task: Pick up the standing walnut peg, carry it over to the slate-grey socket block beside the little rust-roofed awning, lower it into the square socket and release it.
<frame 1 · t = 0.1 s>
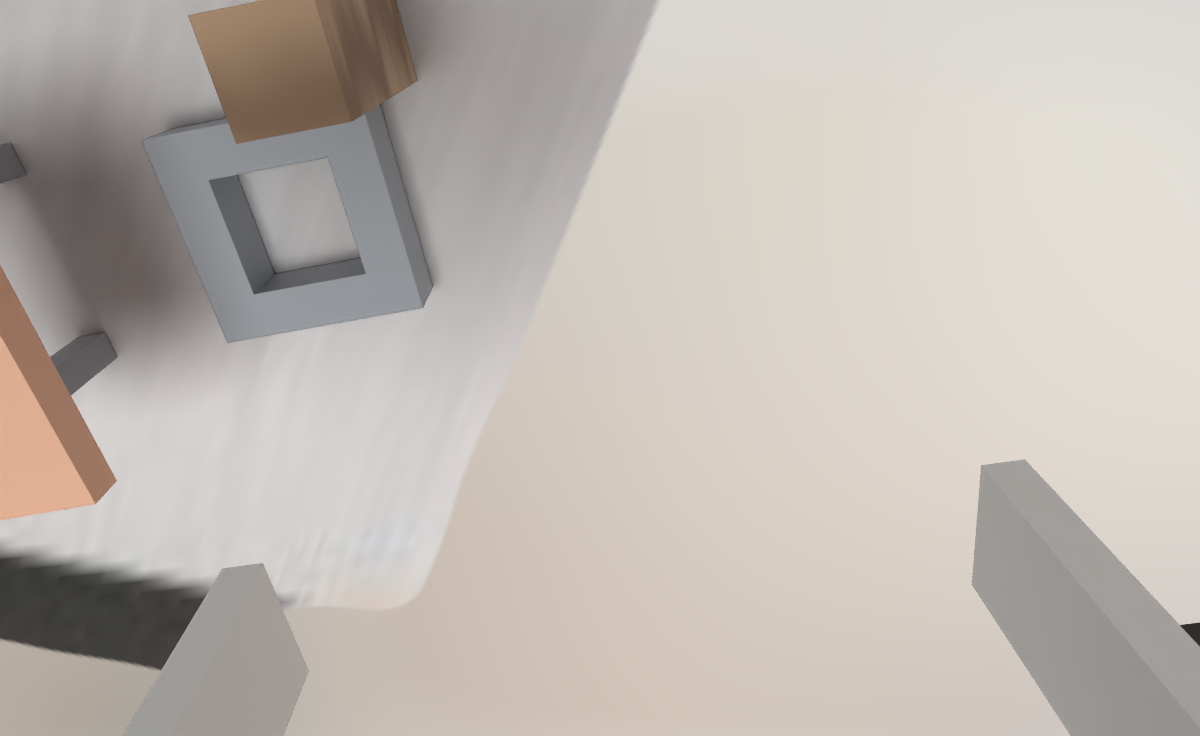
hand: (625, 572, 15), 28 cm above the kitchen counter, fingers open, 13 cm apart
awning: (118, 247, 40), on the kitchen counter
socket block: (308, 211, 40), on the kitchen counter
peg: (362, 43, 36), on the kitchen counter
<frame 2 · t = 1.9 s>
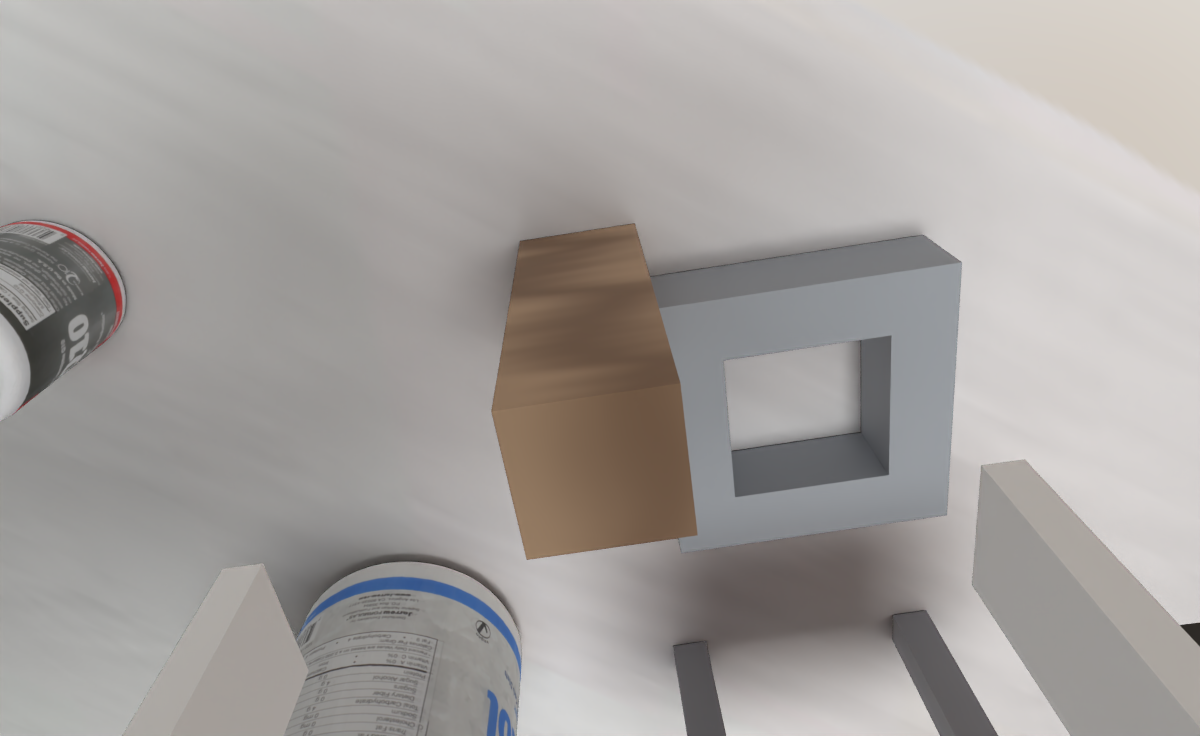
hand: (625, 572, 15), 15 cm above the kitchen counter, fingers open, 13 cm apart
supplement tub: (415, 631, 35), on the kitchen counter
pill bottle: (61, 282, 28), on the kitchen counter
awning: (796, 581, 35), on the kitchen counter
socket block: (787, 380, 30), on the kitchen counter
peg: (586, 286, 28), on the kitchen counter
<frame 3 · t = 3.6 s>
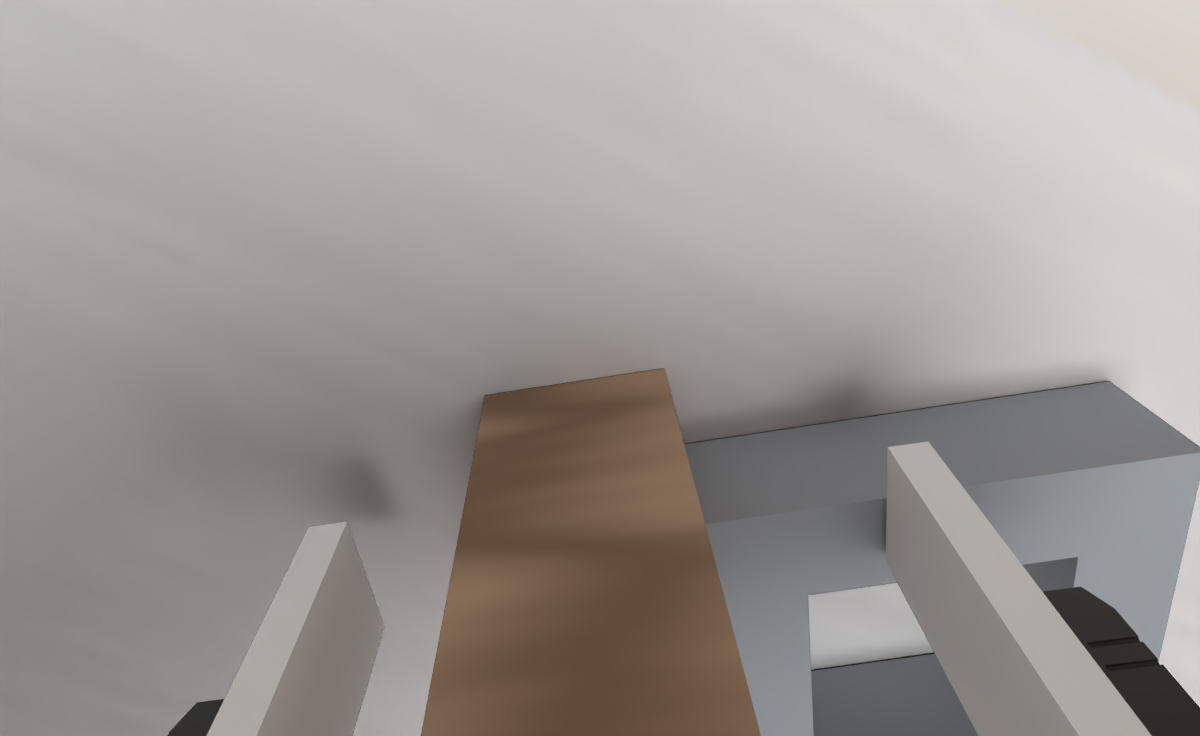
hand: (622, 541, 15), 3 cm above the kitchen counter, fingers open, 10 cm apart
socket block: (887, 581, 20), on the kitchen counter
peg: (588, 457, 18), on the kitchen counter
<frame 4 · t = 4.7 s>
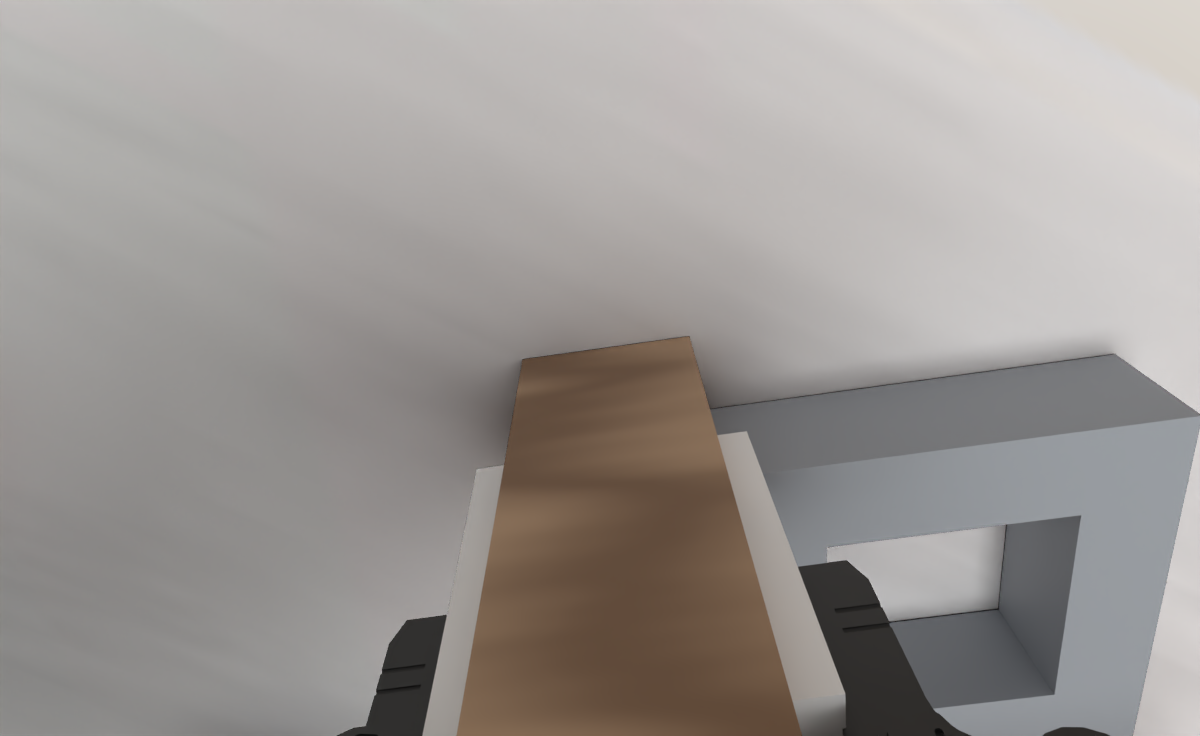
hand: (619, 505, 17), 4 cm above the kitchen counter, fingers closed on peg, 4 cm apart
socket block: (901, 544, 22), on the kitchen counter
peg: (616, 420, 20), on the kitchen counter, touching gripper
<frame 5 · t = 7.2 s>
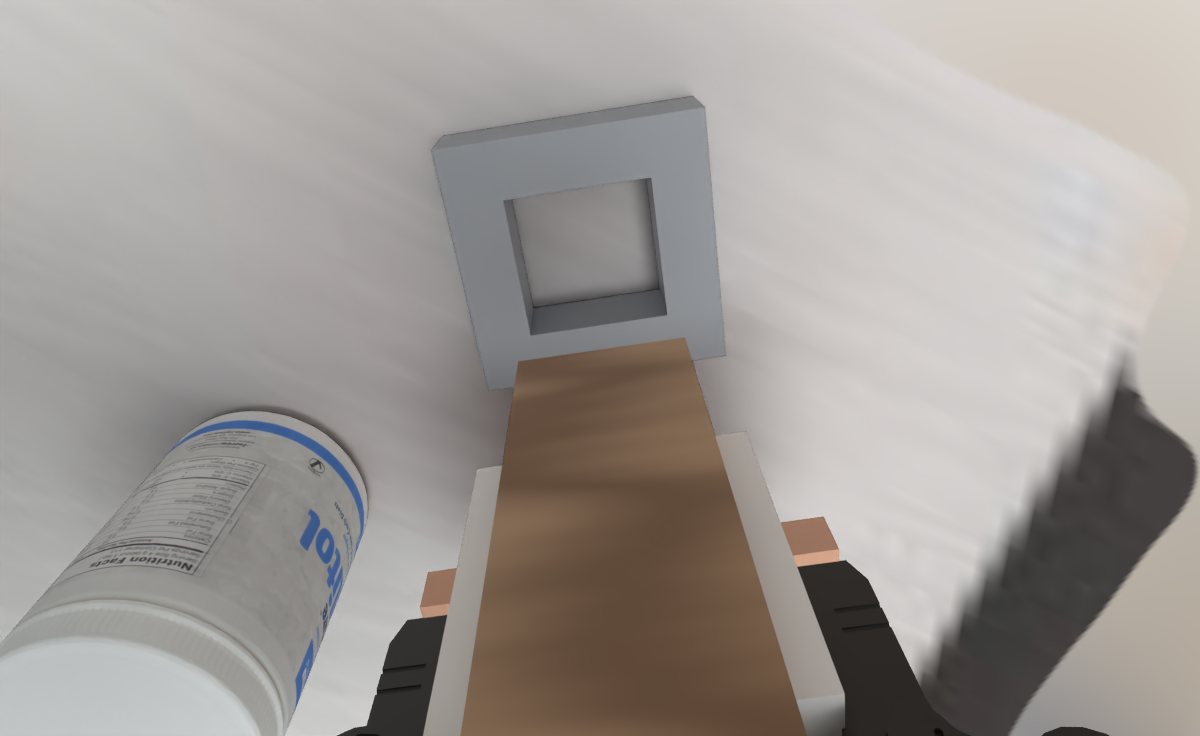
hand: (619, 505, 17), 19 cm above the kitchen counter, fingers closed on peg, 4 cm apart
supplement tub: (273, 485, 39), on the kitchen counter
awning: (618, 437, 38), on the kitchen counter
socket block: (586, 237, 33), on the kitchen counter
peg: (612, 421, 20), point 15 cm above the kitchen counter, touching gripper
when the fingers open (4 cm above the kitchen counter, at t = 9.5 s): peg stays where it is, resting in socket block.
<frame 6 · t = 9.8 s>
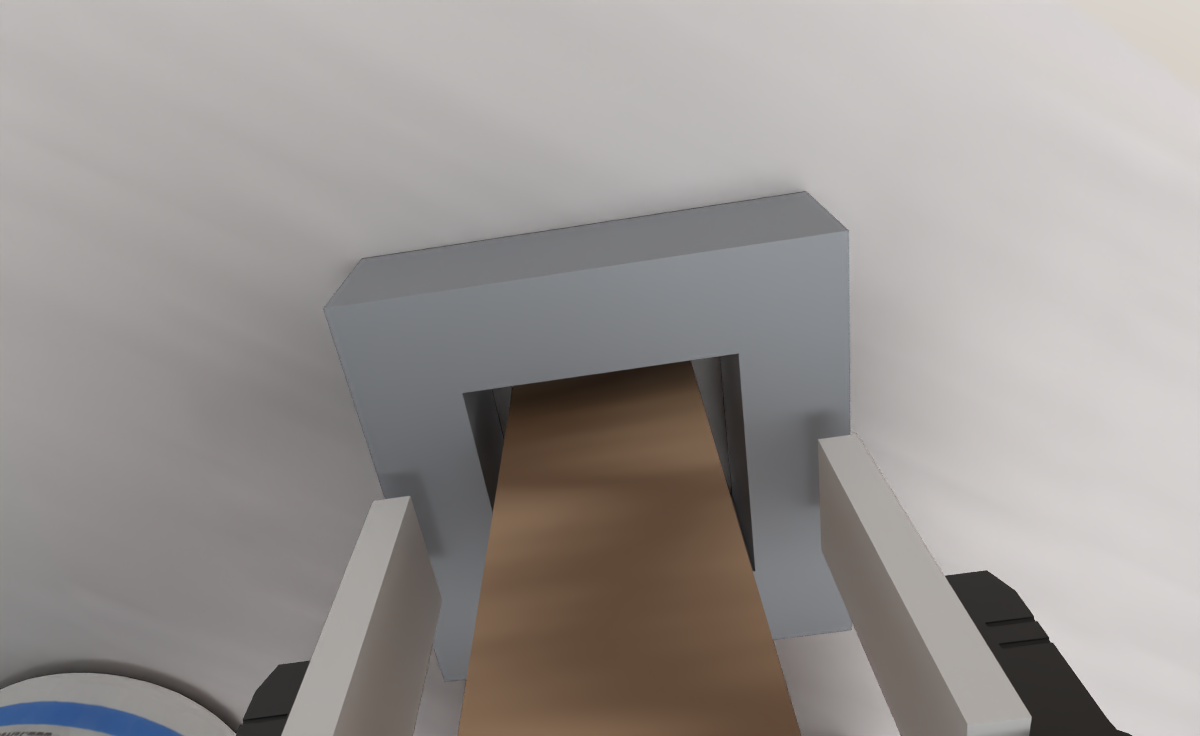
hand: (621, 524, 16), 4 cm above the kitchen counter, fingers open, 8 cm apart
socket block: (612, 418, 20), on the kitchen counter
peg: (611, 418, 20), resting in socket block
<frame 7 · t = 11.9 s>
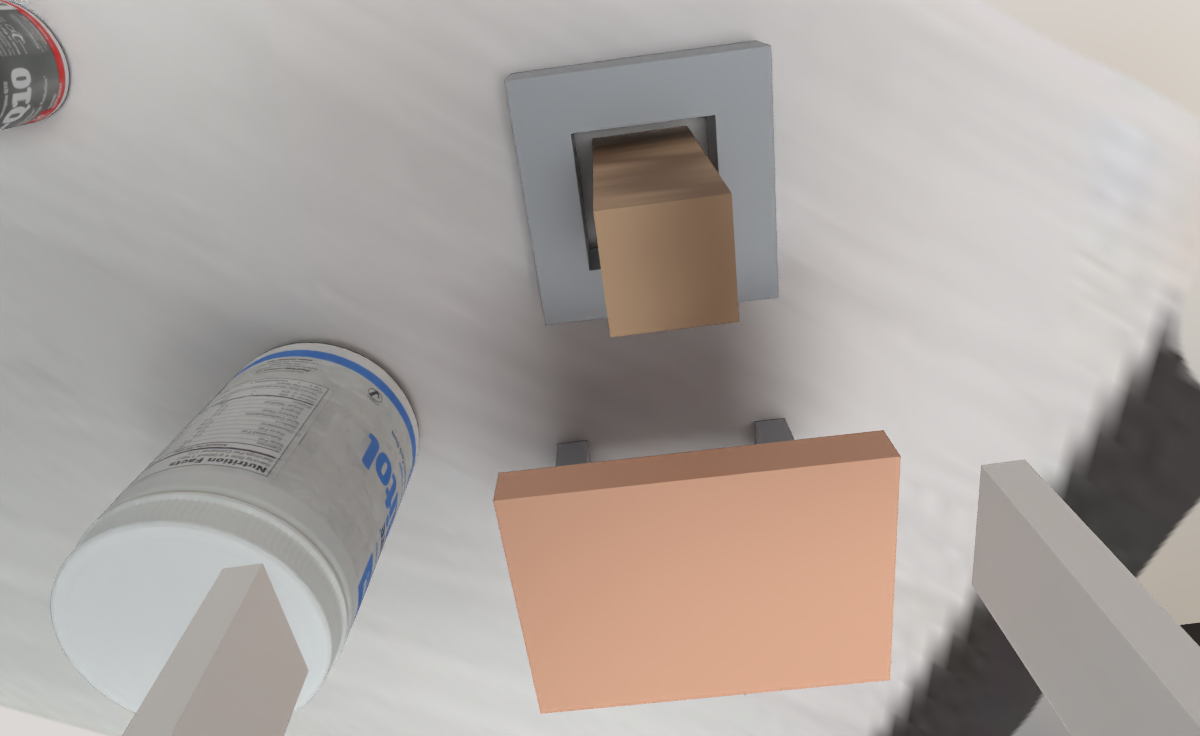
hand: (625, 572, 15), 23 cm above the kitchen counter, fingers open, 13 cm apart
supplement tub: (327, 419, 40), on the kitchen counter
pill bottle: (15, 60, 32), on the kitchen counter
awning: (665, 383, 39), on the kitchen counter
socket block: (645, 179, 34), on the kitchen counter
peg: (644, 179, 34), resting in socket block
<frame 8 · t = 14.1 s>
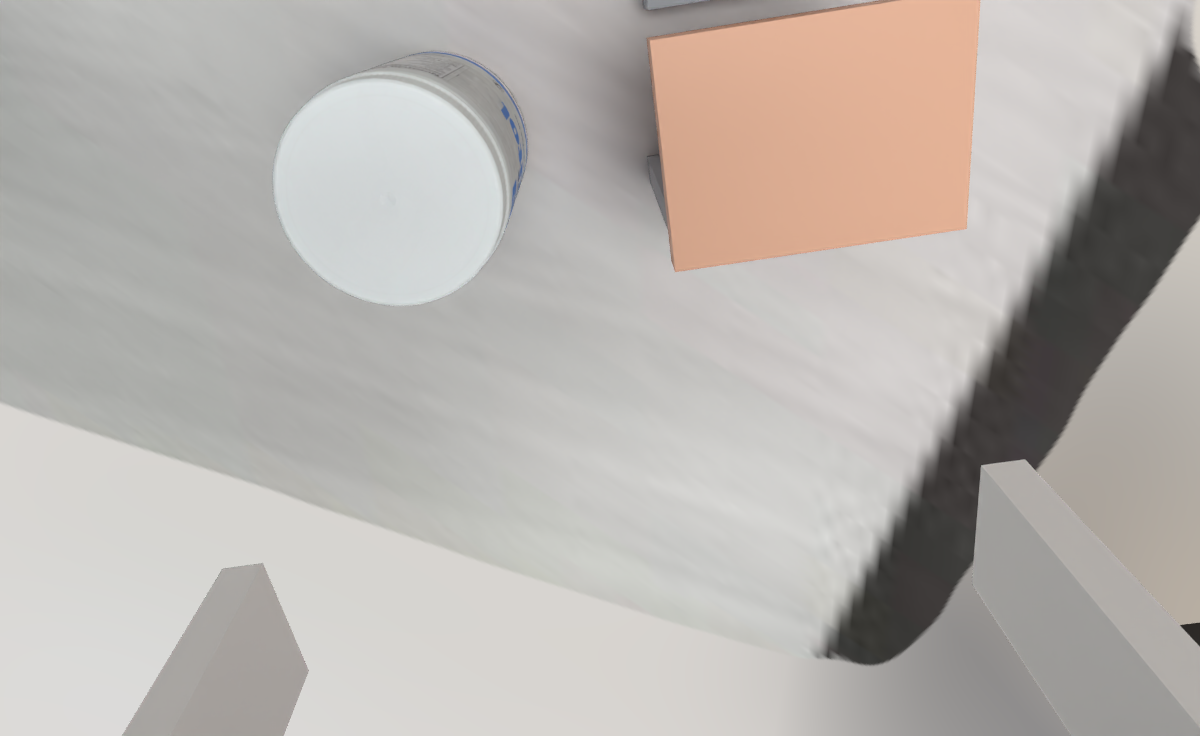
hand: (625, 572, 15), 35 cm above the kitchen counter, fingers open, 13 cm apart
supplement tub: (445, 137, 45), on the kitchen counter
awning: (743, 91, 44), on the kitchen counter
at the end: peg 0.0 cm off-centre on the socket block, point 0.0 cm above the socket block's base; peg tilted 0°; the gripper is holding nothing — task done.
